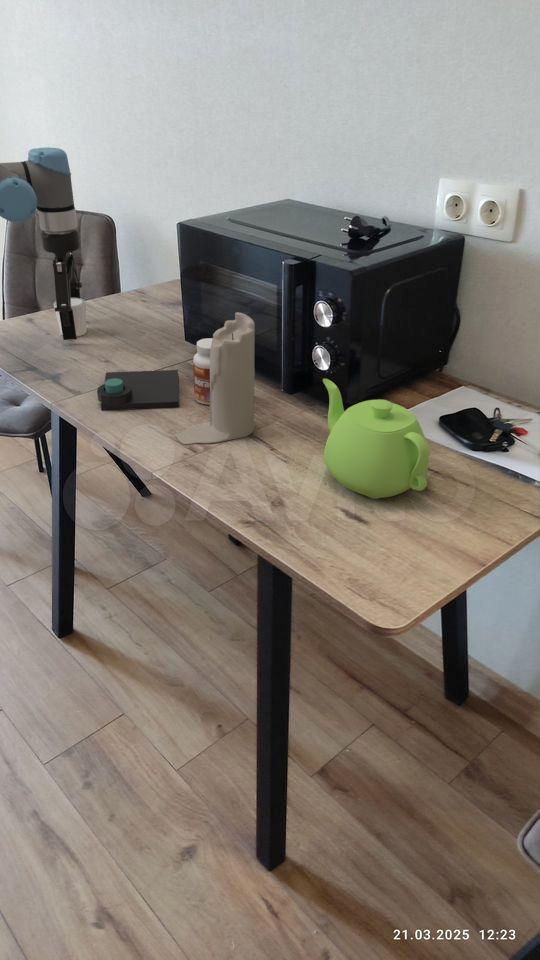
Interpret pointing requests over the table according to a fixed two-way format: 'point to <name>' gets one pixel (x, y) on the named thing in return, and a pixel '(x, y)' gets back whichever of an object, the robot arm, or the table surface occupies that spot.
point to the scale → (141, 390)
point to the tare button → (114, 386)
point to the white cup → (76, 315)
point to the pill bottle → (202, 371)
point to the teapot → (375, 447)
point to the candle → (228, 385)
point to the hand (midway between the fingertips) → (73, 327)
